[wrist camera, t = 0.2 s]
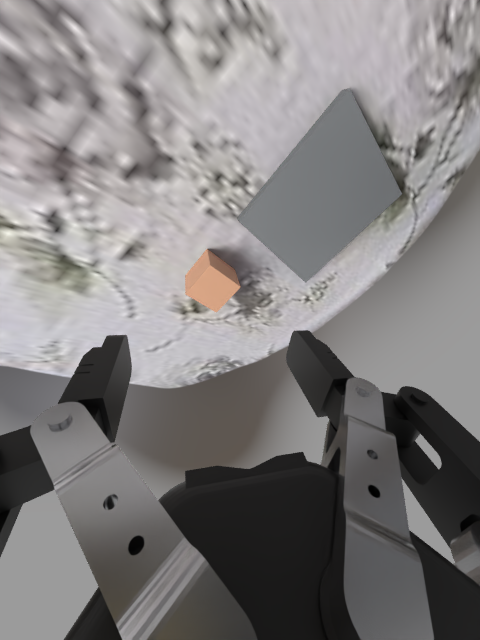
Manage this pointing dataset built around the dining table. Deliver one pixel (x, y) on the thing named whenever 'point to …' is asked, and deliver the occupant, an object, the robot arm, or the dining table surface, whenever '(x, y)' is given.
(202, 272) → the cube
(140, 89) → the dining table surface
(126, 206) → the dining table surface
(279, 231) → the mat
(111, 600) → the robot arm
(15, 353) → the dining table surface
